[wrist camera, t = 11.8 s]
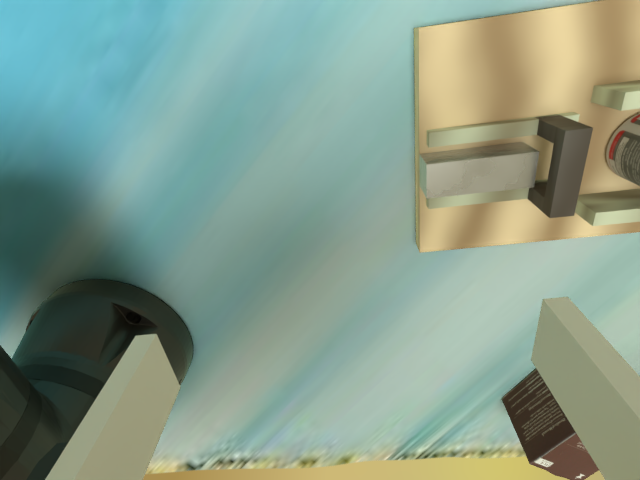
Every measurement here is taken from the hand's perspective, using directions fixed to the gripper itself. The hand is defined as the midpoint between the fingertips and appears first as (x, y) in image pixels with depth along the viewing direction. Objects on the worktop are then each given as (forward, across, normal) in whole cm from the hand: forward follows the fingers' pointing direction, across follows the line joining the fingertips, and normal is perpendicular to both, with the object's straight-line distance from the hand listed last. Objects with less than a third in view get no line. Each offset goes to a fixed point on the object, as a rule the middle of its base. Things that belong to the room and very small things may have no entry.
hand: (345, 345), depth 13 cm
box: (+18, +19, -27) cm, 38 cm away
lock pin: (+16, +10, 0) cm, 19 cm away
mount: (+18, +17, +1) cm, 25 cm away
